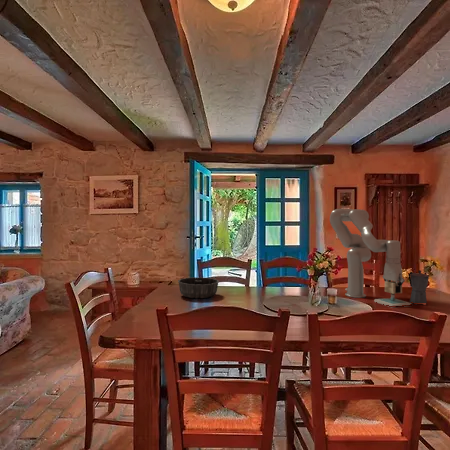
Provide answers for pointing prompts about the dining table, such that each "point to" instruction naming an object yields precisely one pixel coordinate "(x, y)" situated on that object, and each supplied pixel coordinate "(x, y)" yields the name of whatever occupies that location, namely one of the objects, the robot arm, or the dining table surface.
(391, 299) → the steel post
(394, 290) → the birch collar
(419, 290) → the moka pot
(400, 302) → the post board
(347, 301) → the dining table surface
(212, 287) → the bundt pan
